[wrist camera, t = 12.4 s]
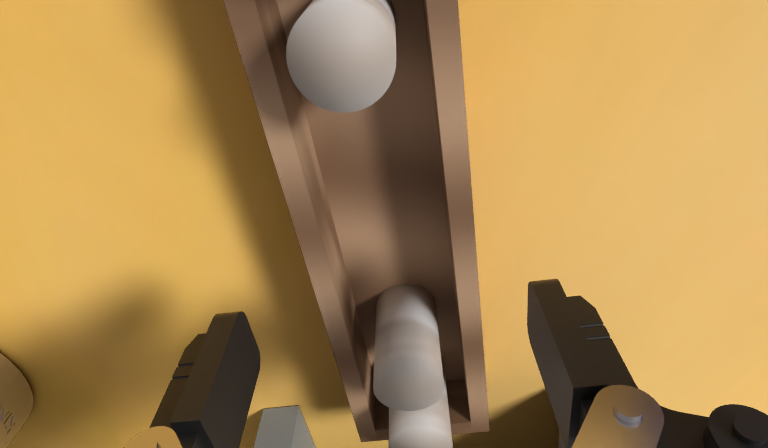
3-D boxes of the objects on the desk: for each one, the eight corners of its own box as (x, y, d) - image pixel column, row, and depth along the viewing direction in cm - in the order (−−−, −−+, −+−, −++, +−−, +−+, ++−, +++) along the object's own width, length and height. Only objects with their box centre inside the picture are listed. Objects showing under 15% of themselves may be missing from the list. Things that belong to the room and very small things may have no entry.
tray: (479, 375, 26) (497, 473, 21) (364, 386, 26) (358, 484, 22) (426, -255, 13) (444, -335, 8) (200, -205, 13) (105, -255, 9)
